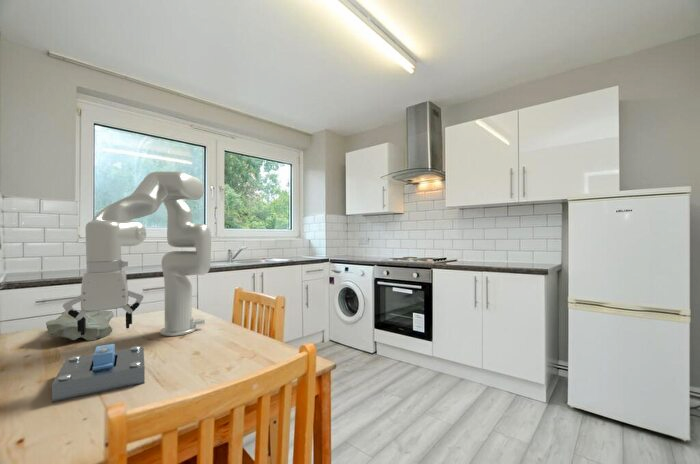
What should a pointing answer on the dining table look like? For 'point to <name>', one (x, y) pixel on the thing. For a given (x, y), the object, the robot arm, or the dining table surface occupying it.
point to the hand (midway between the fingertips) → (106, 330)
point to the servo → (104, 358)
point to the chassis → (98, 375)
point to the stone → (69, 328)
